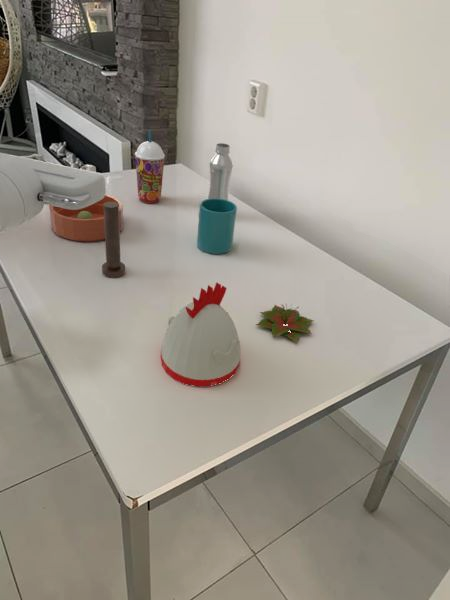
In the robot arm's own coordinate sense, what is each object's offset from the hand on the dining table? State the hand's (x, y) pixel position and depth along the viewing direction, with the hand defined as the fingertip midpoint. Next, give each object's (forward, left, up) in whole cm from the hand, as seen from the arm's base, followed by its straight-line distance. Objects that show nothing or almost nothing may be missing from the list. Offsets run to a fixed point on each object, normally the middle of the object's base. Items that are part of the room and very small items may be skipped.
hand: (65, 164), depth 74 cm
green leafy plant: (+41, -4, -28) cm, 50 cm away
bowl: (-5, +34, -28) cm, 45 cm away
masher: (+5, +13, -28) cm, 31 cm away
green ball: (-5, +34, -25) cm, 43 cm away
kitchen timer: (+24, -15, -28) cm, 40 cm away
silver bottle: (+29, +48, -28) cm, 63 cm away
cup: (+27, +29, -28) cm, 49 cm away
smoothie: (+9, +55, -28) cm, 63 cm away
